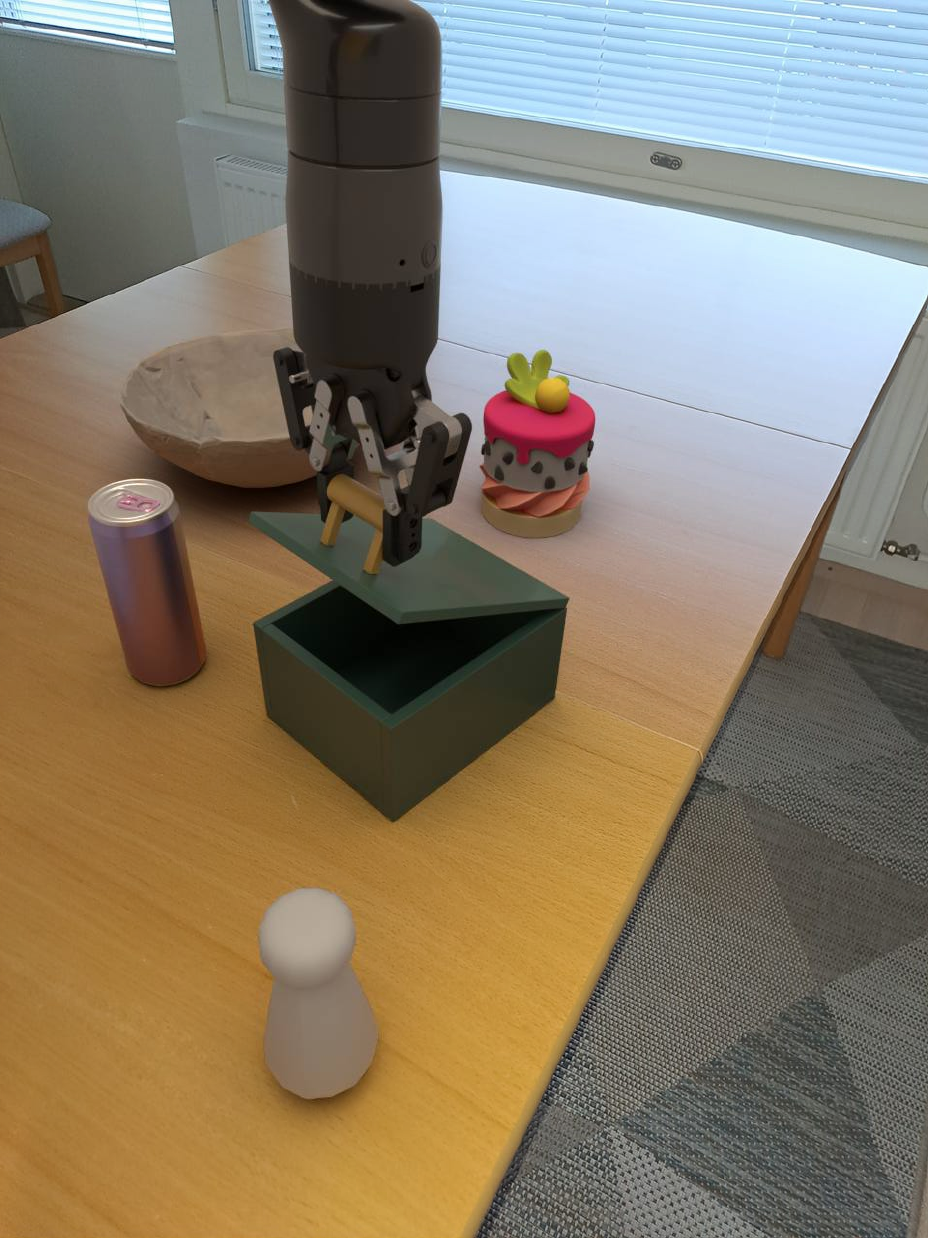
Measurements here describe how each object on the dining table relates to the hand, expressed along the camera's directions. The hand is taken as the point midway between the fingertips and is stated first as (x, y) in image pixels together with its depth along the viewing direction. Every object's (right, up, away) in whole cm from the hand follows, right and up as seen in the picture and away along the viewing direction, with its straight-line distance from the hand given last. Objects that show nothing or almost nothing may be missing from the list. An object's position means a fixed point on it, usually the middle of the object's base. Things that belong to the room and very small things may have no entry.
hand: (368, 538), depth 56 cm
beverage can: (-17, -9, +16) cm, 25 cm away
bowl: (-15, +11, +40) cm, 44 cm away
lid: (+3, -1, +5) cm, 6 cm away
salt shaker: (-2, -28, -7) cm, 29 cm away
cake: (+12, +6, +35) cm, 37 cm away
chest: (+2, -11, +13) cm, 17 cm away
